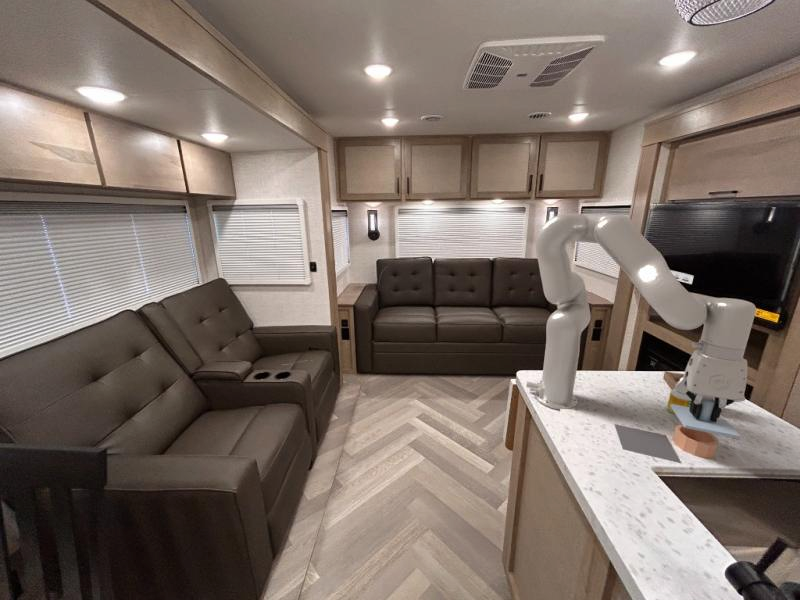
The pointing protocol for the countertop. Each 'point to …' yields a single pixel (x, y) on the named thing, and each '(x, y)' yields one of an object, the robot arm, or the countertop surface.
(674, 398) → the supplement bottle
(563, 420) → the countertop surface
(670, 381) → the garlic corral
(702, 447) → the bowl
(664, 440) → the mat
